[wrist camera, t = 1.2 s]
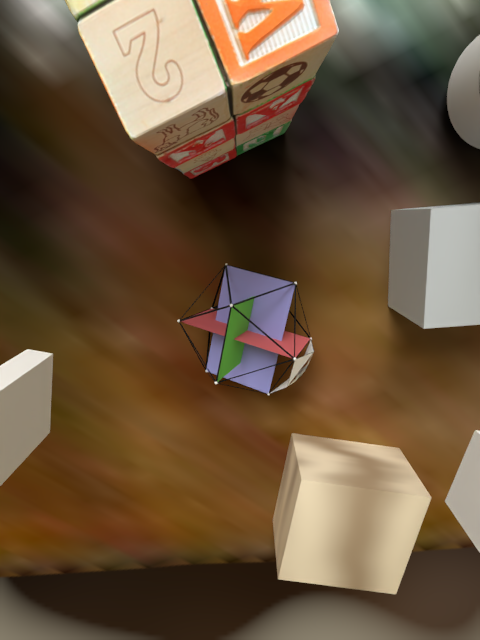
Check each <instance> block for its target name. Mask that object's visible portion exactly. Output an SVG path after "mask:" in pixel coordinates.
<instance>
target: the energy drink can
mask: <svg viewBox="0 0 480 640" xmlns="http://www.w3.org/2000/svg"><path fill="white" fill-rule="evenodd" d="M447 109H448V113H449V117H450V121H451V123H452V125H453V127H454V129H455V131H456V132H457V133H458V134H459V136H460V137H461V138H462V139H463V140H464V141H466V142H467V143H468V144H469V145H472V146H474V147H476V148H478V149H480V35H479V36H478V37H476V38H475V39H474V40H473V41H472V42H471V43H470V44H469V45H468V46H467V47H466V49H465V50H464V52H463V53H462V54H461V56H460V57H459V59H458V61H457V63H456V65H455V67H454V69H453V71H452V74H451V77H450V80H449V84H448V91H447Z"/></svg>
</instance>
